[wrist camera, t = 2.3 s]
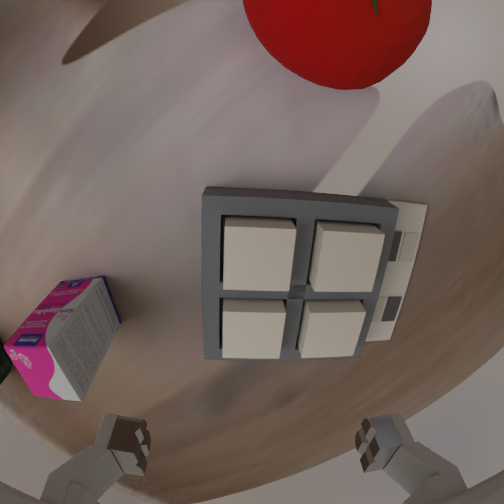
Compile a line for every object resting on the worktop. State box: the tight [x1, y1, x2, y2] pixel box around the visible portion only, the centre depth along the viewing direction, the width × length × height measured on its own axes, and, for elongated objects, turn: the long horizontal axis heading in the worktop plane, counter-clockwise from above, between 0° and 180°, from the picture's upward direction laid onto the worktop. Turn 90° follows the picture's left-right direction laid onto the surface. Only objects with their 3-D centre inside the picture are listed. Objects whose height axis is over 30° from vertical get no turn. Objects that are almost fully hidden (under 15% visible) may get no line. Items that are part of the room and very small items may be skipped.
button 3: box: [222, 298, 286, 359], centre depth 27 cm, size 5×5×2 cm
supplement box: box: [4, 276, 122, 401], centre depth 24 cm, size 6×6×12 cm
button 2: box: [308, 220, 385, 292], centre depth 24 cm, size 5×5×2 cm
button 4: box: [223, 216, 297, 291], centre depth 24 cm, size 5×5×2 cm
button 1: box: [297, 299, 366, 358], centre depth 27 cm, size 5×5×2 cm
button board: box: [202, 187, 427, 361], centre depth 27 cm, size 16×20×3 cm
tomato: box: [243, 0, 432, 90], centre depth 14 cm, size 12×12×13 cm
